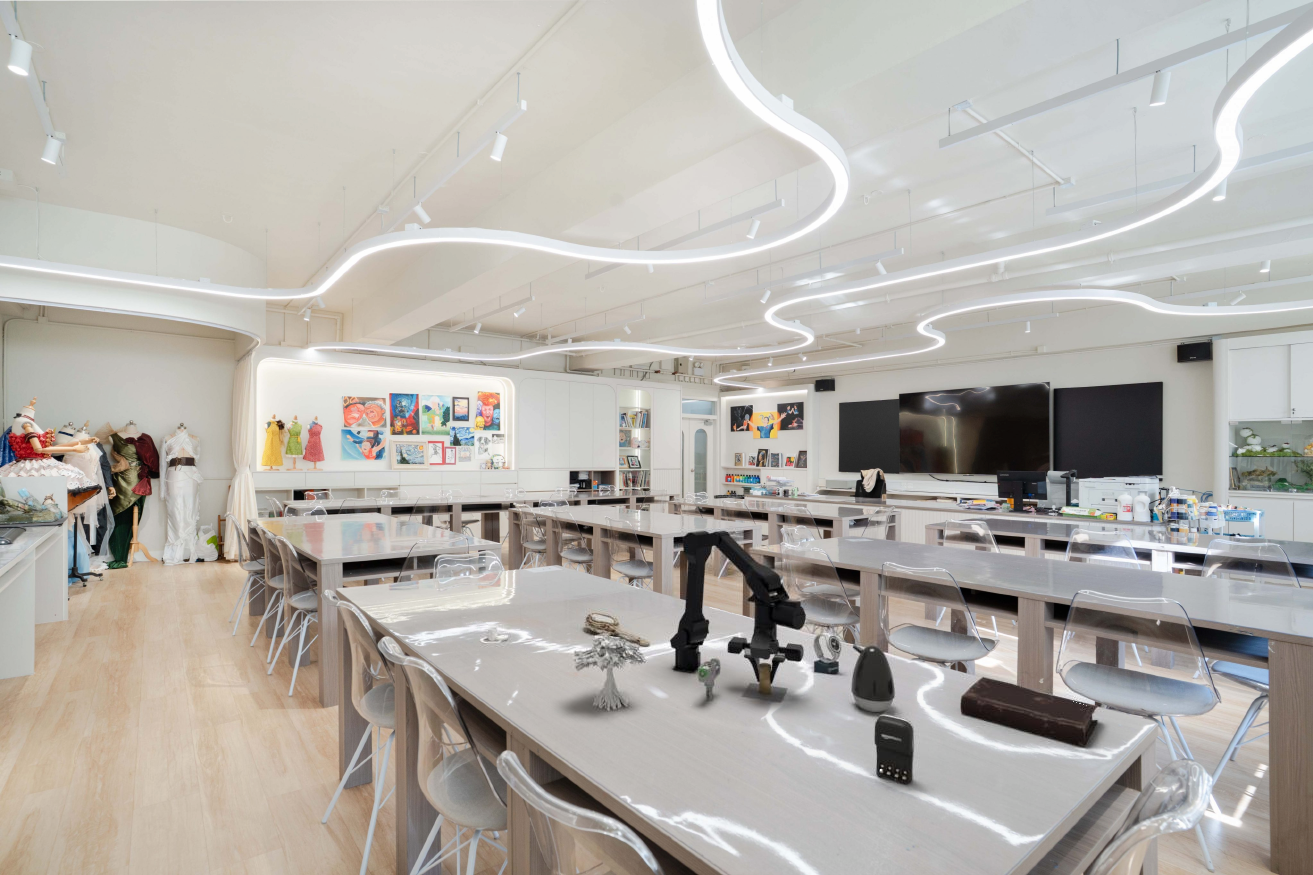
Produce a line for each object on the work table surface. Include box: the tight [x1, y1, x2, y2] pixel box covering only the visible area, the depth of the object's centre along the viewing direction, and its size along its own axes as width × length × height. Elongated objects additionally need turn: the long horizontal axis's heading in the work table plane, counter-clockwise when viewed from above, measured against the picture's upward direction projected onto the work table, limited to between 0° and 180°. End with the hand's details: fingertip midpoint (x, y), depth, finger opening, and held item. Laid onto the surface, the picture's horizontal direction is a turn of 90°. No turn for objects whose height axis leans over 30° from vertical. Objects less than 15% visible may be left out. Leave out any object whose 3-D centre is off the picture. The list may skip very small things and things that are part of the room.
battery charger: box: [874, 714, 915, 785], centre depth 121 cm, size 7×4×11 cm, turn 56°
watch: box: [812, 632, 842, 676], centre depth 179 cm, size 6×8×11 cm
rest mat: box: [741, 682, 789, 704], centre depth 161 cm, size 10×10×1 cm
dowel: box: [758, 662, 772, 695], centre depth 161 cm, size 3×3×7 cm
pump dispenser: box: [850, 644, 896, 713], centre depth 155 cm, size 10×10×15 cm
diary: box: [960, 676, 1099, 749], centre depth 150 cm, size 19×25×5 cm
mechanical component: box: [697, 657, 721, 702], centre depth 156 cm, size 3×10×10 cm, turn 155°
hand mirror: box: [584, 611, 651, 647], centre depth 211 cm, size 11×6×30 cm
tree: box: [572, 633, 647, 712], centre depth 156 cm, size 18×16×17 cm
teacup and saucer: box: [479, 626, 509, 644], centre depth 206 cm, size 9×8×4 cm
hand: (765, 682), depth 161 cm, fingers closed on dowel, 3 cm apart
